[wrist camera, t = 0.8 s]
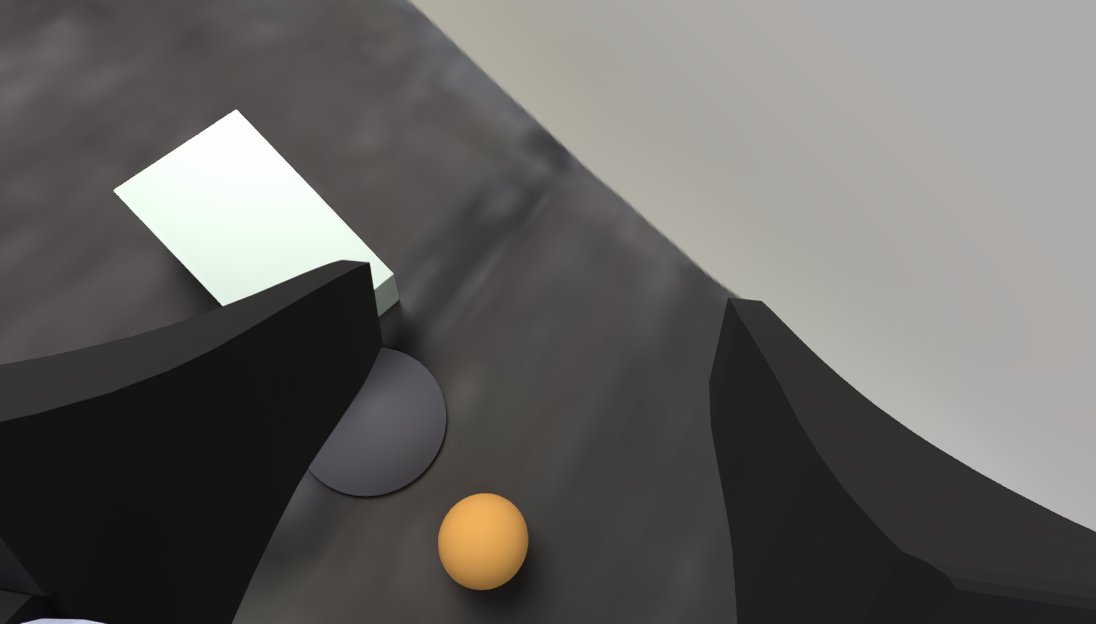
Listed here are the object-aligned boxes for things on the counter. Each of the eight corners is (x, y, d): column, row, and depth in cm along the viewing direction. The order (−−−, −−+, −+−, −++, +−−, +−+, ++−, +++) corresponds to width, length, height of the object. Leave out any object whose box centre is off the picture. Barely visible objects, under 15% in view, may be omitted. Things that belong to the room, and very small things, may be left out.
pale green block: (306, 378, 27) (280, 367, 23) (166, 231, 27) (113, 190, 23) (399, 299, 29) (393, 273, 24) (267, 160, 29) (236, 109, 24)
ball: (478, 596, 27) (485, 623, 23) (419, 534, 27) (417, 551, 23) (537, 531, 28) (554, 546, 24) (481, 471, 28) (489, 477, 24)
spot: (365, 528, 26) (364, 529, 26) (262, 419, 27) (260, 418, 26) (475, 420, 28) (475, 420, 28) (379, 319, 29) (378, 318, 28)
